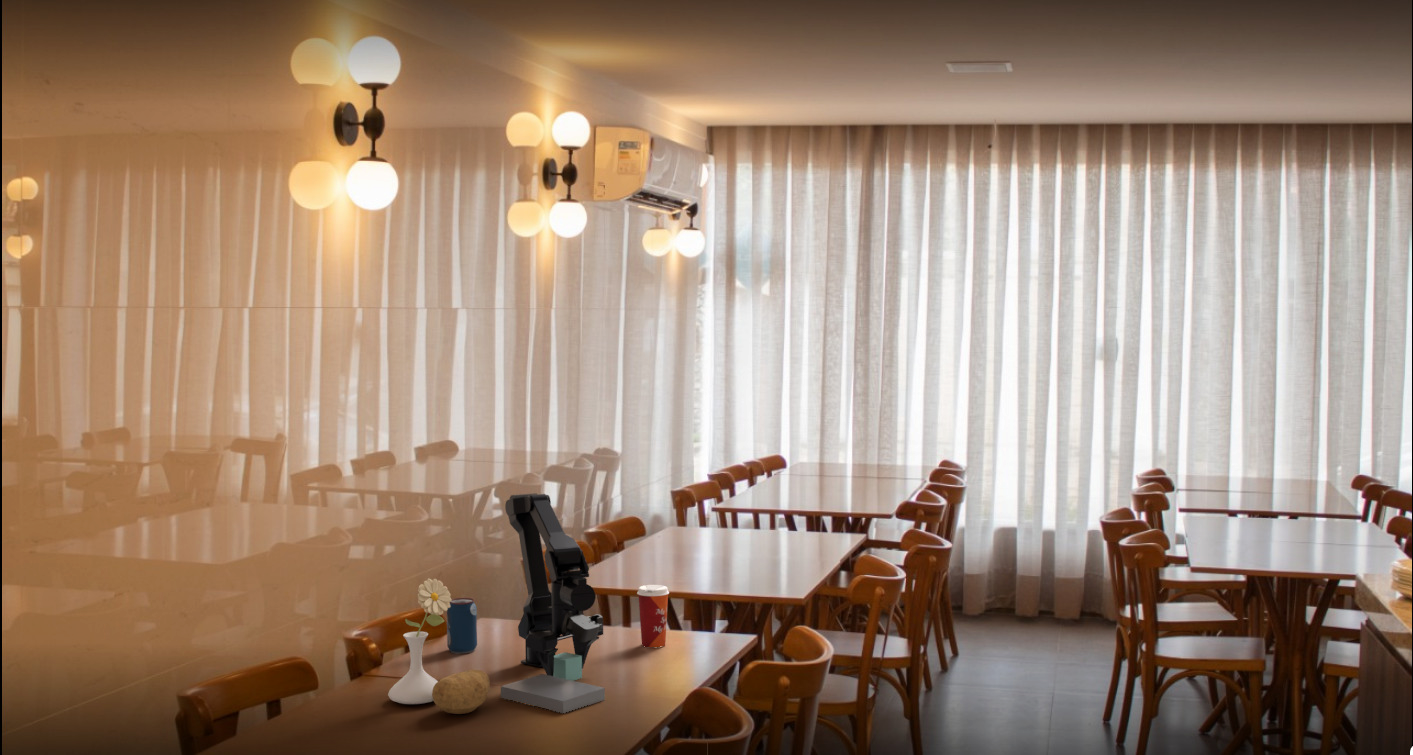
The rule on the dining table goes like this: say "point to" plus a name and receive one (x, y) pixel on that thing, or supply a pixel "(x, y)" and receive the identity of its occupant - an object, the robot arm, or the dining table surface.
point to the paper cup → (653, 614)
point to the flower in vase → (421, 646)
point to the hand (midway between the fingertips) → (565, 673)
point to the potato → (461, 691)
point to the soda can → (462, 625)
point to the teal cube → (568, 666)
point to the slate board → (553, 693)
